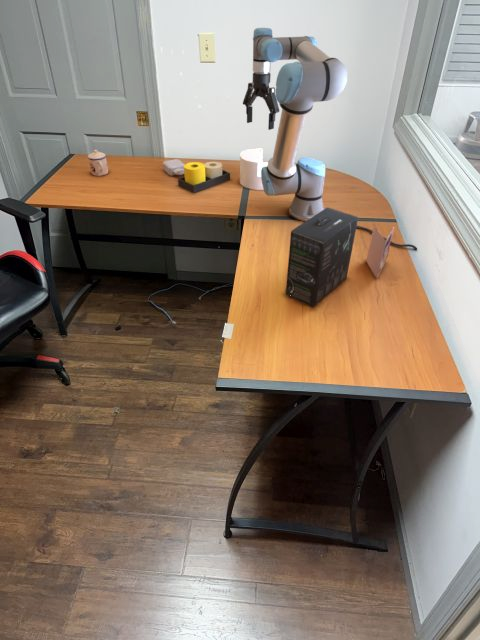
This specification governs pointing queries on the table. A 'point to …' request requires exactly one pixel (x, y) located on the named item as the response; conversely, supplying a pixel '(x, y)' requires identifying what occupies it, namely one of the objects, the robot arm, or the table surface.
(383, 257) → the greeting card
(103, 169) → the teacup with lid
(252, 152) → the white notched cylinder
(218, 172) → the paper roll
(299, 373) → the table surface
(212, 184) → the rack
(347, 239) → the headset box
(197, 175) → the tape roll
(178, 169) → the charger
